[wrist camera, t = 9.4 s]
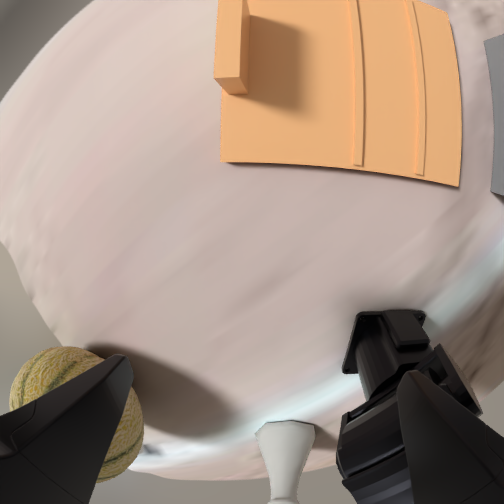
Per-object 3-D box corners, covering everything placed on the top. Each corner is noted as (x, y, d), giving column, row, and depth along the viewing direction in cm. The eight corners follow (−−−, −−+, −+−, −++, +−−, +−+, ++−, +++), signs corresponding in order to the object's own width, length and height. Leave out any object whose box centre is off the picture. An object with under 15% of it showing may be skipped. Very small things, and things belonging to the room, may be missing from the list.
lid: (448, 183, 16) (492, 197, 11) (224, 161, 17) (203, 165, 12) (439, 18, 11) (472, -4, 6) (231, -17, 12) (217, -57, 7)
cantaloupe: (103, 411, 29) (61, 489, 15) (39, 329, 25) (-30, 403, 11) (187, 411, 26) (151, 524, 12) (112, 307, 22) (13, 429, 8)
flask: (308, 447, 28) (310, 512, 18) (252, 445, 28) (244, 511, 19) (323, 419, 25) (329, 496, 16) (257, 416, 26) (248, 496, 16)
